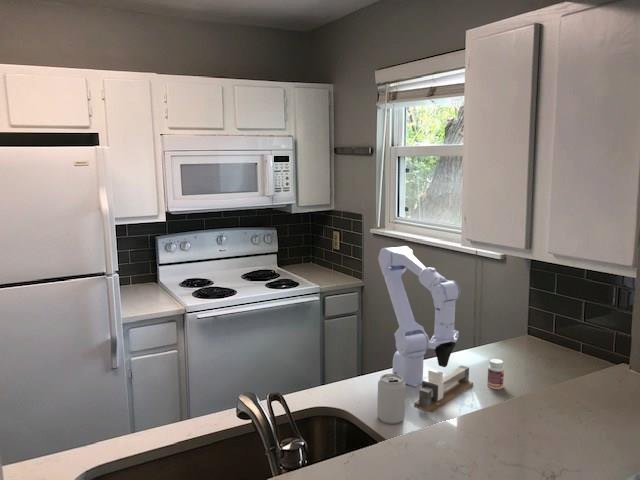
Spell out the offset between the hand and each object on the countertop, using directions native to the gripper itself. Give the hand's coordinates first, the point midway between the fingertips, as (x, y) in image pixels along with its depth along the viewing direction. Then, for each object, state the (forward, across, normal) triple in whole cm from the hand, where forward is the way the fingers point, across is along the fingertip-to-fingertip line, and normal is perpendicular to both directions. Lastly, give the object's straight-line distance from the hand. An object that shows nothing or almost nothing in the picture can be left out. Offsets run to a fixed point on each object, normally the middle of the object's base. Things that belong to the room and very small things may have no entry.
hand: (442, 365), depth 158 cm
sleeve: (+8, -5, 0) cm, 10 cm away
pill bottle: (+10, +18, -8) cm, 23 cm away
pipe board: (+10, +2, 0) cm, 10 cm away
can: (+10, -22, +4) cm, 24 cm away
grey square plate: (+8, -7, 0) cm, 11 cm away
